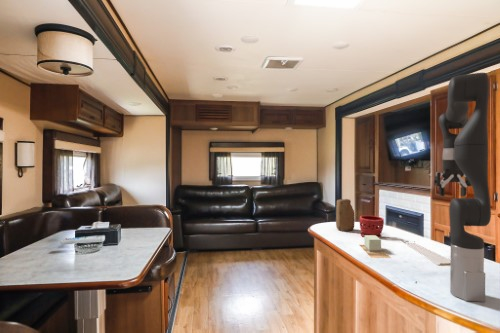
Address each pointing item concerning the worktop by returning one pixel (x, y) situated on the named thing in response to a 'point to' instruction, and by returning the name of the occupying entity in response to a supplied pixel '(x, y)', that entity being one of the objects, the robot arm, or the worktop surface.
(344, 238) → the worktop surface
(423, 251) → the baseboard
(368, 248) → the block
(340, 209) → the block
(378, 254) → the oak board
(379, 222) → the plant pot
